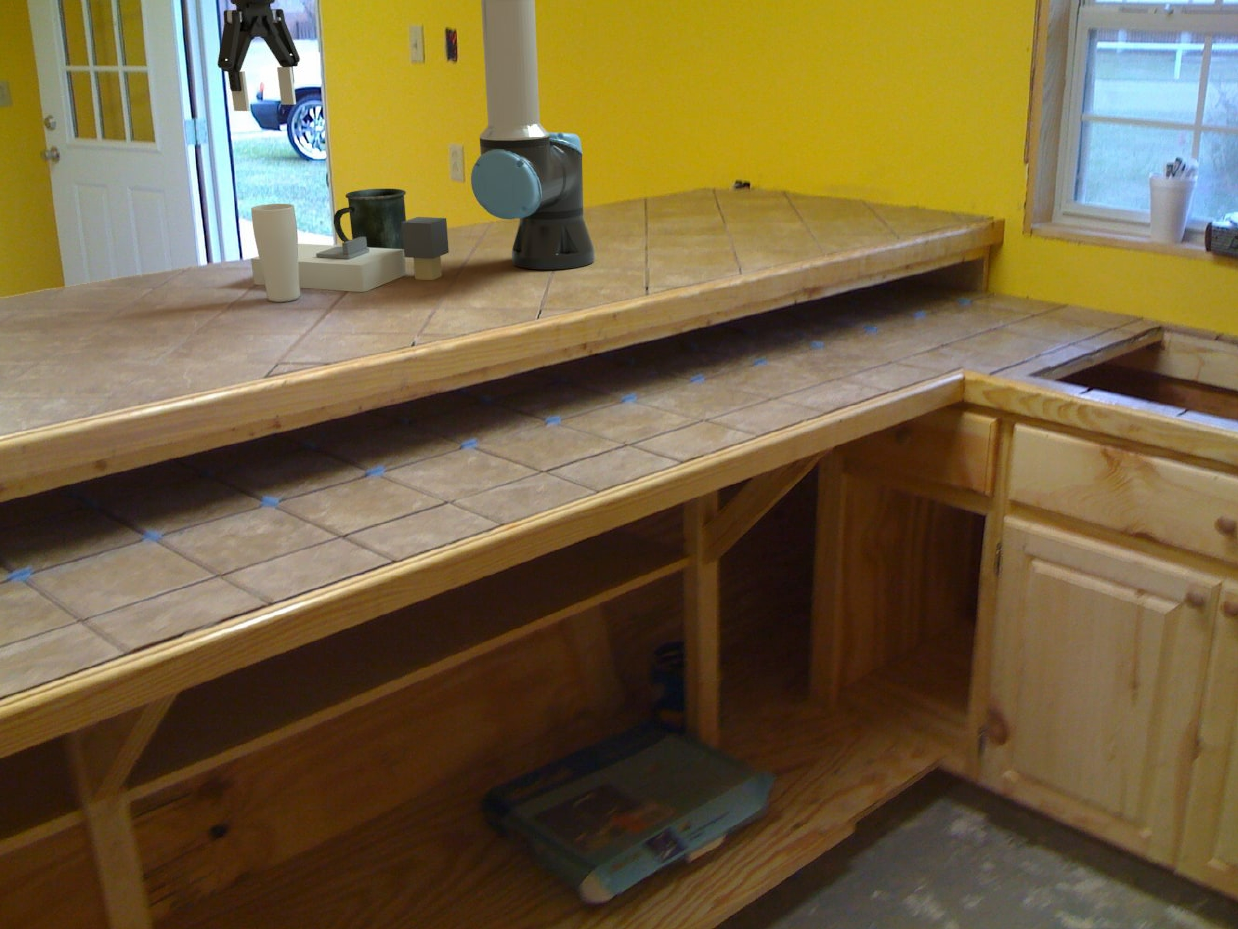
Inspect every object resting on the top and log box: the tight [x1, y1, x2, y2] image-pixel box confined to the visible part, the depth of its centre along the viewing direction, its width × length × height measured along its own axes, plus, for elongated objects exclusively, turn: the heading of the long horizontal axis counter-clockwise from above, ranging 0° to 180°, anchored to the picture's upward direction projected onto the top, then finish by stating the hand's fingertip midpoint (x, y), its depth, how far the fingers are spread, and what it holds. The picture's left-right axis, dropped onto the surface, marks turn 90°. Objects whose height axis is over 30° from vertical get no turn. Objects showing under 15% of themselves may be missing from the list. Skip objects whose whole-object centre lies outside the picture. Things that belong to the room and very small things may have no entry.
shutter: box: [316, 237, 369, 259], centre depth 205 cm, size 6×6×3 cm
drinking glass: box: [251, 203, 301, 303], centre depth 192 cm, size 7×7×15 cm
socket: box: [250, 243, 407, 293], centre depth 207 cm, size 22×14×4 cm, turn 69°
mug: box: [333, 188, 407, 249], centre depth 224 cm, size 11×15×12 cm
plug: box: [401, 216, 450, 281], centre depth 206 cm, size 6×6×10 cm
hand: (266, 107), depth 213 cm, fingers open, 13 cm apart
